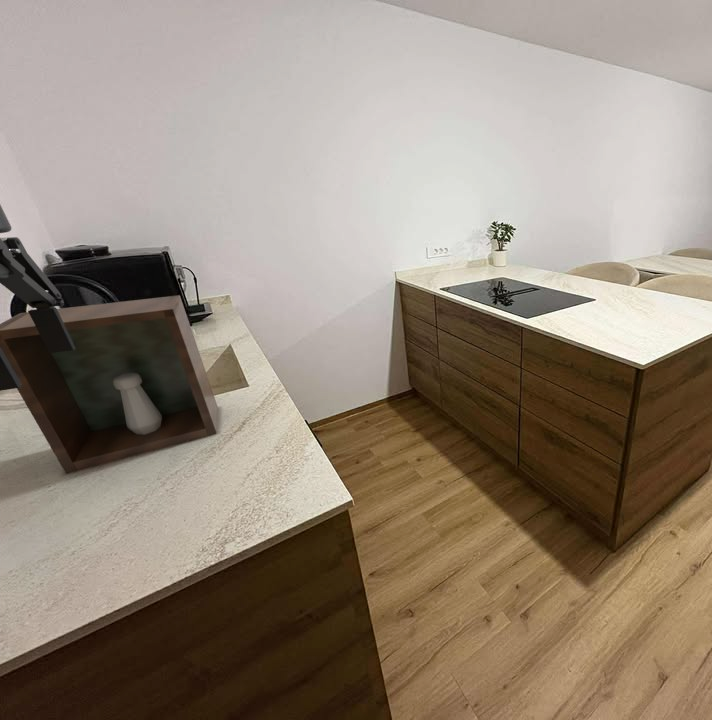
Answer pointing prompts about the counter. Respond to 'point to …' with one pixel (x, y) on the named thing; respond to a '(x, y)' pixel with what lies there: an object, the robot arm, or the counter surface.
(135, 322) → the brown wooden box
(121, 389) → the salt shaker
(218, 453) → the counter surface
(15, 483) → the counter surface
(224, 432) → the counter surface
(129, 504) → the counter surface
